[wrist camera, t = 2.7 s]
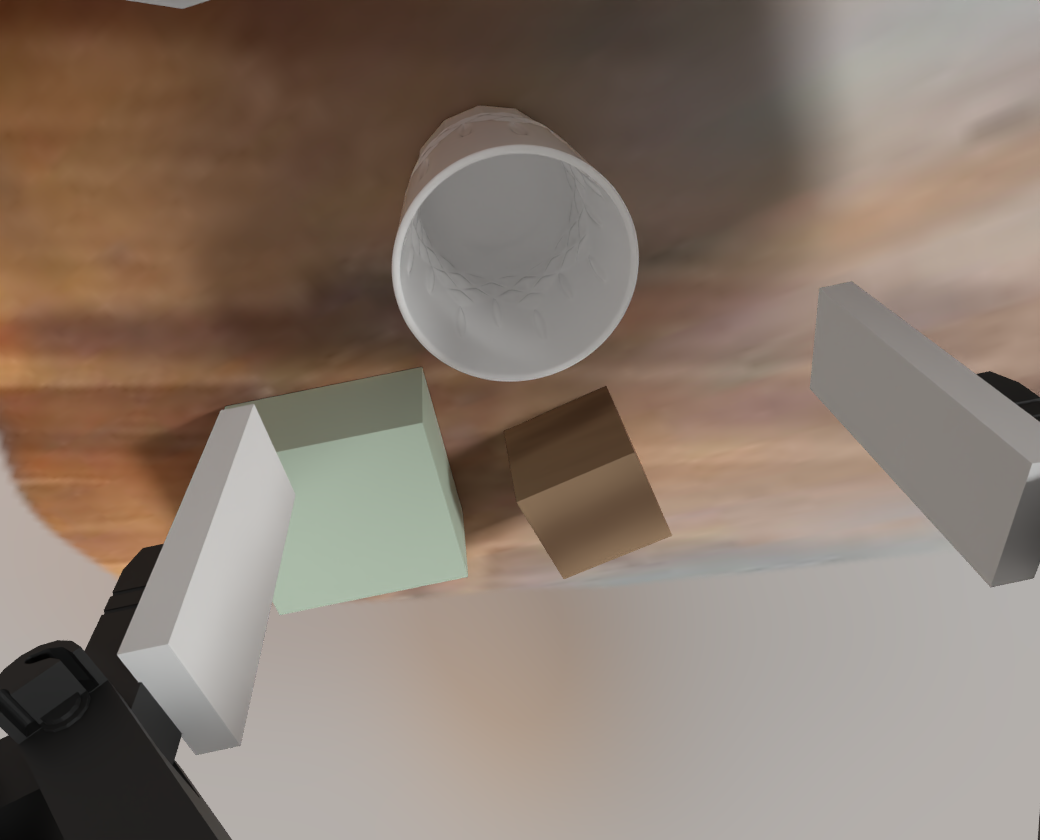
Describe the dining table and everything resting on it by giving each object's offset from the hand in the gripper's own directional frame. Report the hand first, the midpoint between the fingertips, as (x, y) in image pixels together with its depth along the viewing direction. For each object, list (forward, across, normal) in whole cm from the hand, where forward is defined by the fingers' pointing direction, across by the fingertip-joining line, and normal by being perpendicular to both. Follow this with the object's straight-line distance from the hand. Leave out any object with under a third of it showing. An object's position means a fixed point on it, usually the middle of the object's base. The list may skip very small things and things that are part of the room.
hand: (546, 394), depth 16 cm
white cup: (+17, 0, 0) cm, 17 cm away
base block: (+17, -10, -13) cm, 24 cm away
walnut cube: (+17, +2, -15) cm, 23 cm away
